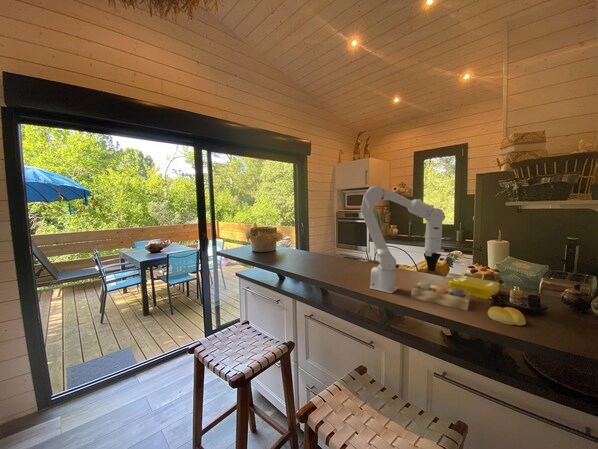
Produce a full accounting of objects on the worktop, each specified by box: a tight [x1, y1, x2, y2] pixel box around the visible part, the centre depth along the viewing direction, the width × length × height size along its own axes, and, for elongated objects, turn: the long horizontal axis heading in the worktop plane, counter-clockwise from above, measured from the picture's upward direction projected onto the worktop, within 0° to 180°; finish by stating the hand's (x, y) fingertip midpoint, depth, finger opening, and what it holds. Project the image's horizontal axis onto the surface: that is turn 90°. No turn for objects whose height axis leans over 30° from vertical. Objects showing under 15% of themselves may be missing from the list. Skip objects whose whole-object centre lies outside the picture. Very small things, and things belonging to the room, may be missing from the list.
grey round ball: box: [452, 288, 464, 297], centre depth 89 cm, size 4×4×4 cm
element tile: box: [447, 274, 500, 300], centre depth 103 cm, size 15×15×5 cm
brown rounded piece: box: [435, 286, 446, 294], centre depth 93 cm, size 4×4×4 cm
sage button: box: [419, 281, 431, 291], centre depth 96 cm, size 4×4×4 cm
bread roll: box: [487, 305, 527, 327], centre depth 76 cm, size 8×9×4 cm
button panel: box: [410, 282, 471, 311], centre depth 93 cm, size 18×12×3 cm, turn 51°
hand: (431, 270), depth 99 cm, fingers closed
